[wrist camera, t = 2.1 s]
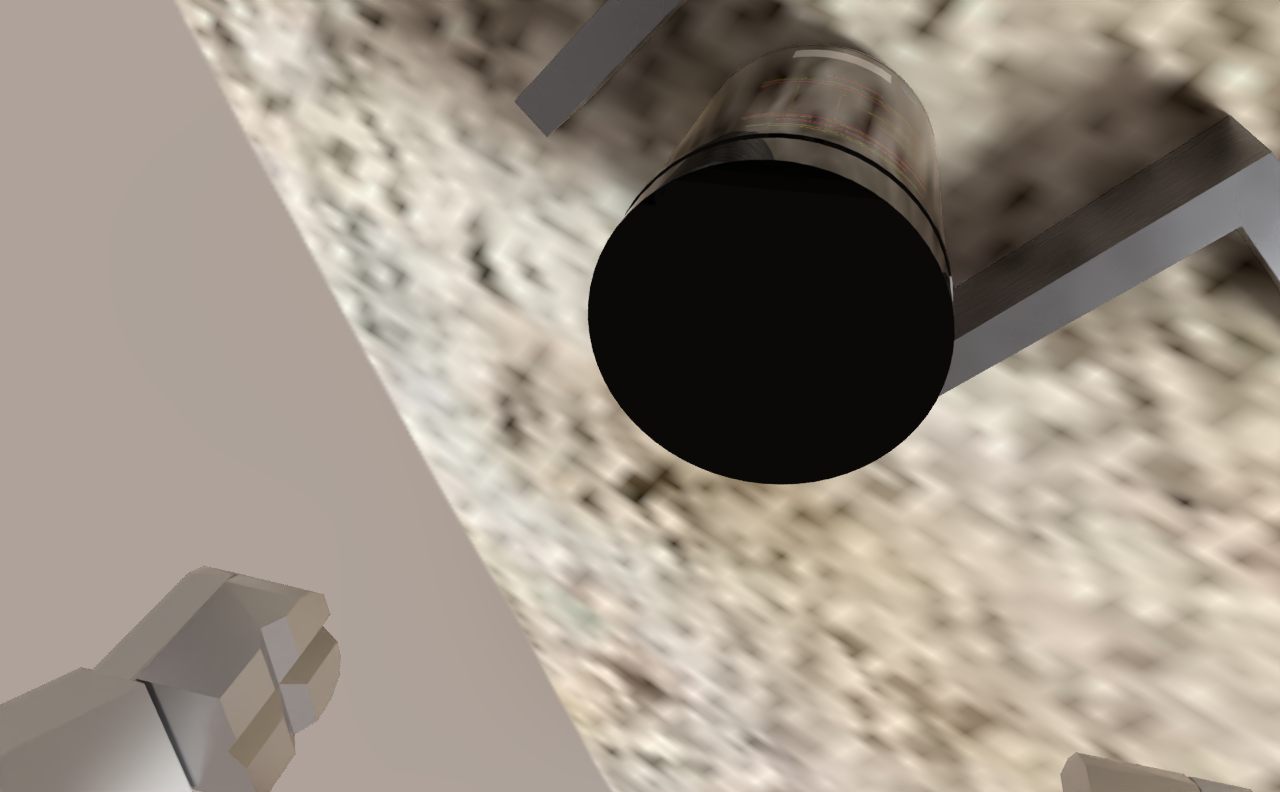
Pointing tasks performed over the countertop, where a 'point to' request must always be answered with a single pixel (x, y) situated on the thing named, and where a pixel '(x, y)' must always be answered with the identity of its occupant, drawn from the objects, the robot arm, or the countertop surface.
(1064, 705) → the countertop surface
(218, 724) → the robot arm
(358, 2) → the countertop surface
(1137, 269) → the metal angle brackets
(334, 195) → the countertop surface
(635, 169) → the countertop surface
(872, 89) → the supplement container
